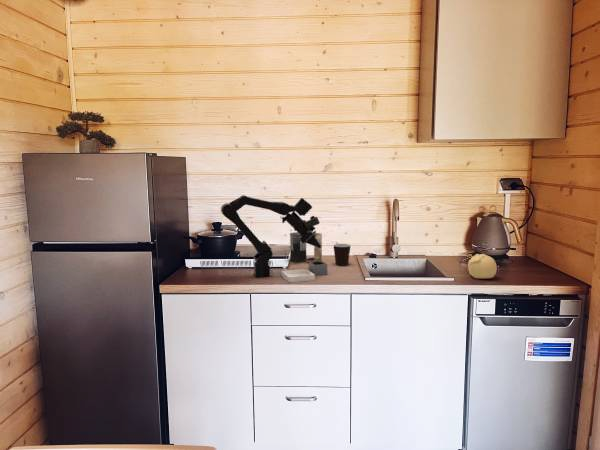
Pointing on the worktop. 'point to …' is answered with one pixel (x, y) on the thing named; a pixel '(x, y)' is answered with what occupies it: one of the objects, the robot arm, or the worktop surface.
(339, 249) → the black cup
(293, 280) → the tray
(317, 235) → the maple pin
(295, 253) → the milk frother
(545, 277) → the worktop surface
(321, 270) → the pin cup
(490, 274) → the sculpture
